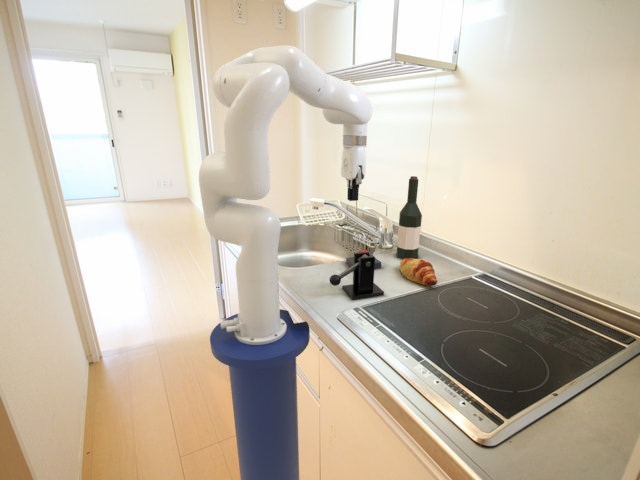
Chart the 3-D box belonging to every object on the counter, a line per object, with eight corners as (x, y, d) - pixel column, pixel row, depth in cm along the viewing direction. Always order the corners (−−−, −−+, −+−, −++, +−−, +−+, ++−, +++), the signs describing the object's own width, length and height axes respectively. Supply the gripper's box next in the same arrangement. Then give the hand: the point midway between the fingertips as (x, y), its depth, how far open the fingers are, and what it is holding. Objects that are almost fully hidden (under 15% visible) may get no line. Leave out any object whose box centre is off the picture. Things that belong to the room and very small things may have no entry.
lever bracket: (352, 300, 102) (353, 261, 98) (342, 289, 109) (343, 252, 105) (383, 295, 105) (386, 257, 101) (372, 285, 112) (374, 248, 108)
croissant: (394, 275, 129) (385, 258, 125) (417, 261, 130) (409, 242, 126) (426, 300, 110) (417, 280, 106) (452, 282, 111) (445, 262, 108)
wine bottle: (420, 255, 140) (428, 176, 130) (414, 261, 133) (422, 179, 123) (399, 251, 143) (406, 174, 133) (393, 258, 136) (399, 177, 126)
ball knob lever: (334, 289, 101) (329, 281, 100) (331, 285, 104) (326, 276, 103) (372, 264, 103) (368, 255, 102) (368, 260, 106) (363, 252, 104)
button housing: (354, 271, 122) (354, 260, 121) (346, 263, 129) (346, 253, 128) (381, 268, 126) (381, 257, 125) (371, 260, 133) (371, 250, 132)
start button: (361, 258, 124) (361, 253, 124) (356, 255, 127) (357, 250, 127) (370, 257, 125) (370, 252, 125) (366, 254, 129) (366, 249, 128)
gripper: (335, 140, 119) (334, 196, 125) (352, 143, 106) (350, 205, 112) (356, 141, 121) (354, 195, 128) (375, 143, 108) (372, 204, 115)
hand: (352, 200), depth 120 cm, fingers closed
